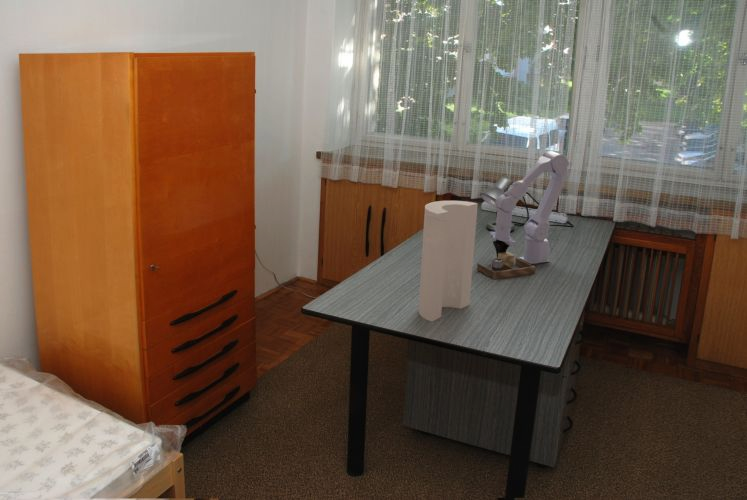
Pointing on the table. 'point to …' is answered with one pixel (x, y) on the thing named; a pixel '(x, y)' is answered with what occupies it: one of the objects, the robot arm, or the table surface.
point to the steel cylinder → (497, 265)
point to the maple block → (507, 258)
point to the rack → (508, 270)
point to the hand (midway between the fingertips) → (500, 258)
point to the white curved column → (447, 256)
